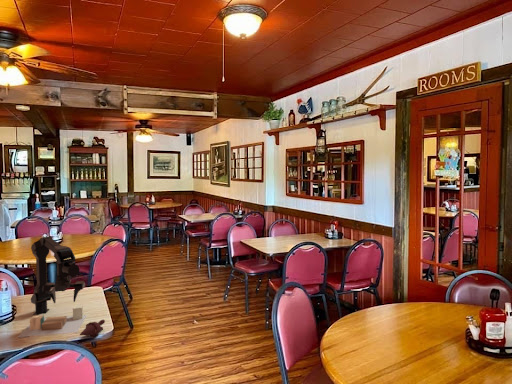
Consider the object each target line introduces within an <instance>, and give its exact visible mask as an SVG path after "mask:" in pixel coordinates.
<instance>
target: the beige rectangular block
mask: <svg viewBox="0 0 512 384" xmlns="http://www.w3.org/2000/svg"><path fill="white" fill-rule="evenodd" d="M83 306H84V305H83V304H77V305H73V307H72V316H73V320H76V319H83V315H84V307H83Z"/></svg>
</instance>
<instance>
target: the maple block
mask: <svg viewBox="0 0 512 384" xmlns="http://www.w3.org/2000/svg"><path fill="white" fill-rule="evenodd" d="M44 318H45V315H44V314H41V315H33V316H32V317H31V318H30V319H29V325H30V330H36V329H42V323H43V322H44Z"/></svg>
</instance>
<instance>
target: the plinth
mask: <svg viewBox="0 0 512 384" xmlns="http://www.w3.org/2000/svg"><path fill="white" fill-rule="evenodd" d="M46 318H47V319H46V320H45V321H44V322H43V323H42V330H55V329H62V328H63V326H64V325H65V323H66V322H67V317H66V316H63V315H62V316H61V315H60V316H51V317H50V316H49V317H46Z"/></svg>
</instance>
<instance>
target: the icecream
mask: <svg viewBox="0 0 512 384" xmlns="http://www.w3.org/2000/svg"><path fill="white" fill-rule="evenodd" d="M105 322H106V320H105V319H101V320H99V321H98V322H97V321H92V322H91V321H90V322H88V323H87V324H86V325H85V328H84V329H83V330H82V331H81V332H80V333H79V335H80V336H88V337H91V338H95V337H96V336H97V335H99V334H100V332H101V331H103V329H104V327H103V326H102V325H104V324H105Z"/></svg>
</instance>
